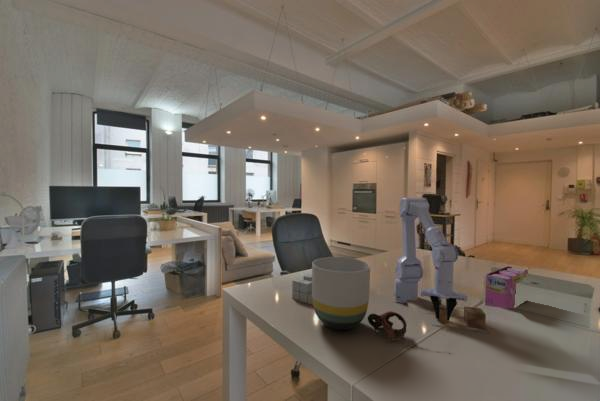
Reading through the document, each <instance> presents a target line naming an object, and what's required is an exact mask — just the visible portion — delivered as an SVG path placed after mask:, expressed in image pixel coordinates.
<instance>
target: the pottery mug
mask: <svg viewBox="0 0 600 401" xmlns="http://www.w3.org/2000/svg"><path fill="white" fill-rule="evenodd" d="M393 317H396V318H397V319H398V320H399V321H400V322H401V323H402V326H403V327H402V328H399V329H396V328H395V329H394V330H391V329H392V328H393V325H394V322H393V321H390V318H393ZM367 321H368V323H369V325H371V326H372V327H373V328H374V330H375V331H377V330H379V328H380V327H382V328H384V330H385V331H386V333H388V336H387V337H386V339H387V341H389V342H390V343H391V342H393V341H394V340H399V339H401V338H403V337H404V336H405V334H406V333H407V322H406V320H405V318H404V317H403V315H401V314H399V313H398V312H395V311H392V310H391V311H386V312H384V313H382V314H380V315H378V314H376V313H370V314H369V315H368V316H367Z"/></svg>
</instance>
